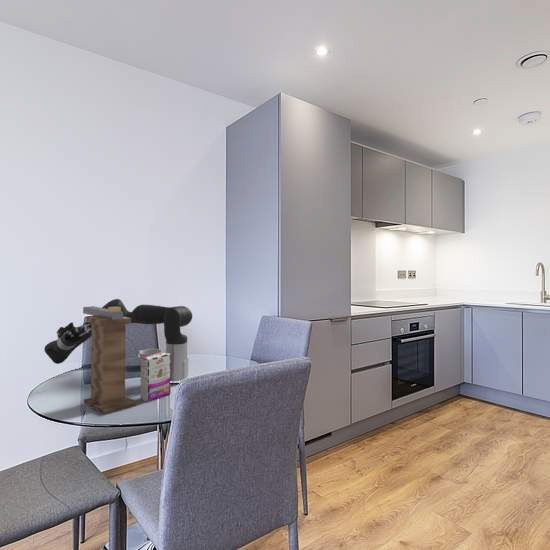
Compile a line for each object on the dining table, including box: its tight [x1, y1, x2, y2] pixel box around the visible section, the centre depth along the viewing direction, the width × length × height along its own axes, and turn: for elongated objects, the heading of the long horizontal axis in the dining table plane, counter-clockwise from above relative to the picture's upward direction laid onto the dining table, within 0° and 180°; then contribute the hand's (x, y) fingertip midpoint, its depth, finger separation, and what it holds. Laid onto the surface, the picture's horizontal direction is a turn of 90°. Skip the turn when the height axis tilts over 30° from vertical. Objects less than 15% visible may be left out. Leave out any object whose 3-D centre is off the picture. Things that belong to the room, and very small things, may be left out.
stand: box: [83, 315, 138, 416], centre depth 141 cm, size 17×12×32 cm
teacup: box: [136, 348, 162, 365], centre depth 194 cm, size 14×11×8 cm
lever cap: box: [82, 305, 123, 320], centre depth 145 cm, size 24×4×4 cm, turn 49°
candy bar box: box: [140, 351, 172, 402], centre depth 150 cm, size 11×5×16 cm, turn 148°
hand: (83, 323), depth 156 cm, fingers open, 8 cm apart
